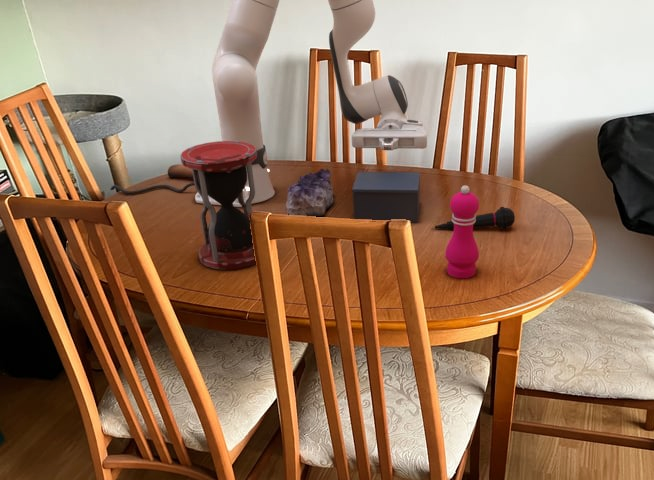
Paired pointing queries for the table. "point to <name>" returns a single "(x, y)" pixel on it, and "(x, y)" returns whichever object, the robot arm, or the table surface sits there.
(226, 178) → the hourglass
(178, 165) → the sunglasses case
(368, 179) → the lid
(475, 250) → the pepper mill
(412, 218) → the case
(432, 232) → the table surface
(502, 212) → the microphone
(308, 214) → the geode
